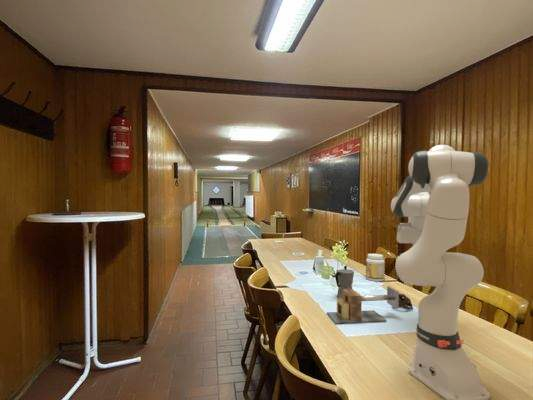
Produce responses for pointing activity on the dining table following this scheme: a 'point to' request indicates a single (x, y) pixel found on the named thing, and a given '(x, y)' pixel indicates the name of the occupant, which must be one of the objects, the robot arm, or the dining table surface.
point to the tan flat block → (342, 309)
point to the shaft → (386, 297)
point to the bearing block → (355, 310)
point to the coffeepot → (344, 280)
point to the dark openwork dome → (404, 301)
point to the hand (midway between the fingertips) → (418, 252)
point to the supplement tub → (375, 267)
